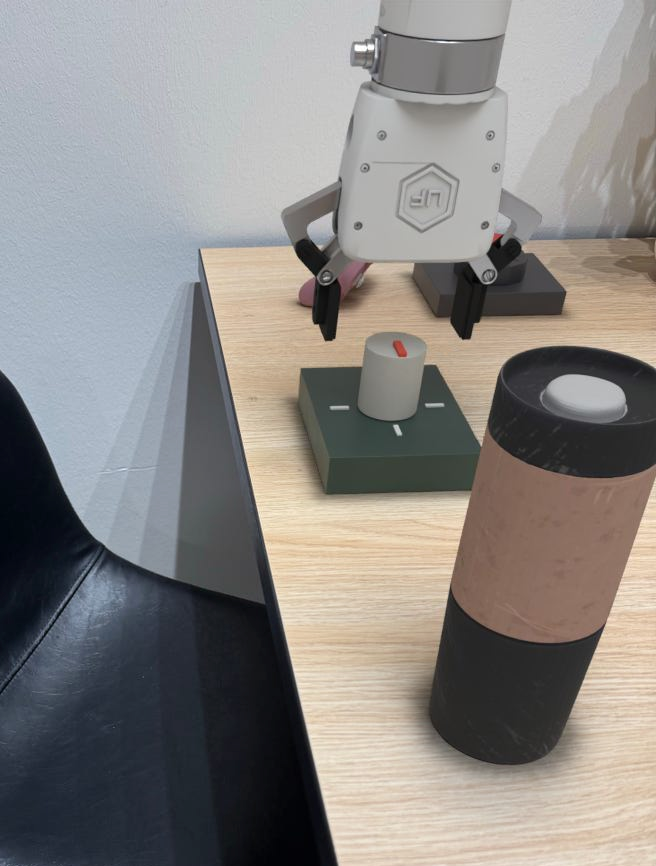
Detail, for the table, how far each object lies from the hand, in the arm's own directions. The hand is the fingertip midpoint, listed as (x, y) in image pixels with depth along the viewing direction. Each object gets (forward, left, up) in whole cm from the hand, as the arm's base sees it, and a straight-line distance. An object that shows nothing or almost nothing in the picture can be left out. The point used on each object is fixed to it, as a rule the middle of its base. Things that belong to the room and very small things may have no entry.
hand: (393, 332), depth 74 cm
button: (-16, -28, -5) cm, 33 cm away
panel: (0, 0, -9) cm, 9 cm away
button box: (-16, -28, -9) cm, 34 cm away
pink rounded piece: (-2, -29, -9) cm, 31 cm away
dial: (0, 0, -6) cm, 6 cm away
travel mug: (0, +30, -9) cm, 31 cm away
